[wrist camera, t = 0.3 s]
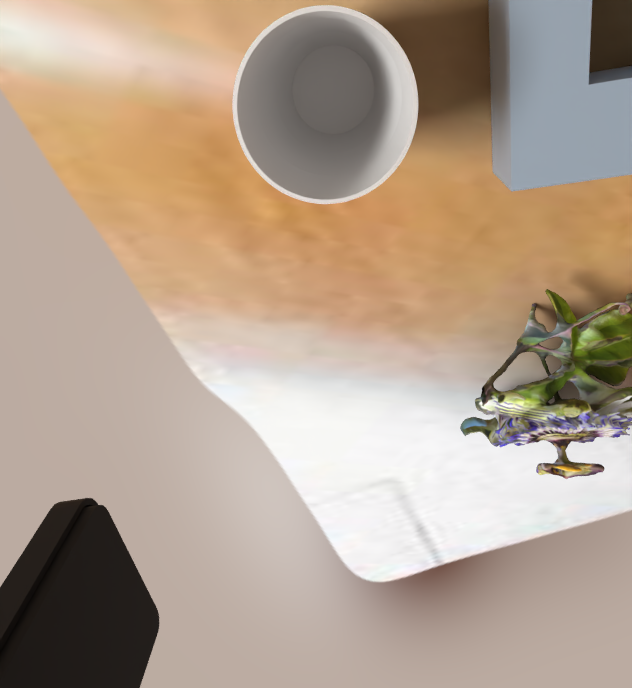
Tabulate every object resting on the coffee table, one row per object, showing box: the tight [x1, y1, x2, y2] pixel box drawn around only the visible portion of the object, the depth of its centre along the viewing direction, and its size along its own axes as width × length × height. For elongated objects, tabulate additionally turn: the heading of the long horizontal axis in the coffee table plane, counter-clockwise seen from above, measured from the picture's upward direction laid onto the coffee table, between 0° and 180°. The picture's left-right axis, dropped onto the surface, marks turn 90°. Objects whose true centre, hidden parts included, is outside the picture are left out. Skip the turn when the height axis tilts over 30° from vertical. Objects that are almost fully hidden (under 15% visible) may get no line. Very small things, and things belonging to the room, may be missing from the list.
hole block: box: [488, 0, 632, 191], centre depth 30 cm, size 14×12×5 cm
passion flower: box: [460, 289, 632, 479], centre depth 39 cm, size 11×11×12 cm
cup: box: [233, 5, 418, 204], centre depth 31 cm, size 8×8×10 cm
